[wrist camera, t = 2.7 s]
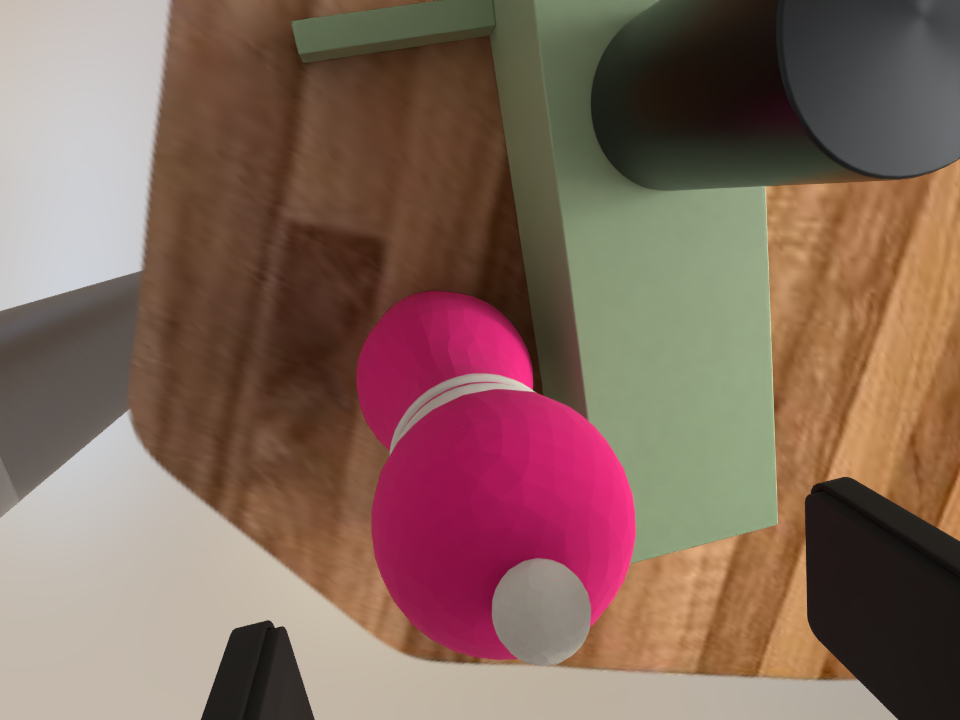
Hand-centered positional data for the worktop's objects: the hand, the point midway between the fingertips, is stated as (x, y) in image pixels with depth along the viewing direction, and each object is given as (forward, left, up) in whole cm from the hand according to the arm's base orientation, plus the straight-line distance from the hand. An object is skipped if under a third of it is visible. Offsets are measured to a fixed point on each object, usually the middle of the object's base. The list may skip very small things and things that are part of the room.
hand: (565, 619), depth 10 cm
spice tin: (+9, +9, -13) cm, 18 cm away
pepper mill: (0, 0, -20) cm, 20 cm away
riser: (+5, +3, -20) cm, 20 cm away
